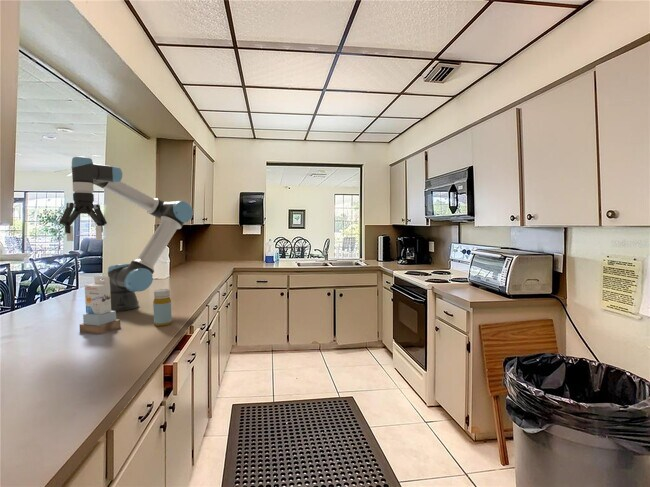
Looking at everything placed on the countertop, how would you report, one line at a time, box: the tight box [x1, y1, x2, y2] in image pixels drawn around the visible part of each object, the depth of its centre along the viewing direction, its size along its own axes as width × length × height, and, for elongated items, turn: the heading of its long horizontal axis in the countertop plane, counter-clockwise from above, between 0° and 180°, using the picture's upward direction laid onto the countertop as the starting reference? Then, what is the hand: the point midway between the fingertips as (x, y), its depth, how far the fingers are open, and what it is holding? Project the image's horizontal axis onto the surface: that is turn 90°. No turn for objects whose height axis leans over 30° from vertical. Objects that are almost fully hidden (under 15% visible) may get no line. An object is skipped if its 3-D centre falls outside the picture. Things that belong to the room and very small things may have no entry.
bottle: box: [152, 288, 172, 327], centre depth 149 cm, size 7×7×15 cm
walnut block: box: [79, 318, 122, 336], centre depth 141 cm, size 10×10×4 cm
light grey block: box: [82, 311, 117, 326], centre depth 140 cm, size 8×8×4 cm
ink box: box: [84, 275, 111, 314], centre depth 140 cm, size 8×5×15 cm, turn 74°
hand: (85, 240), depth 152 cm, fingers open, 13 cm apart
